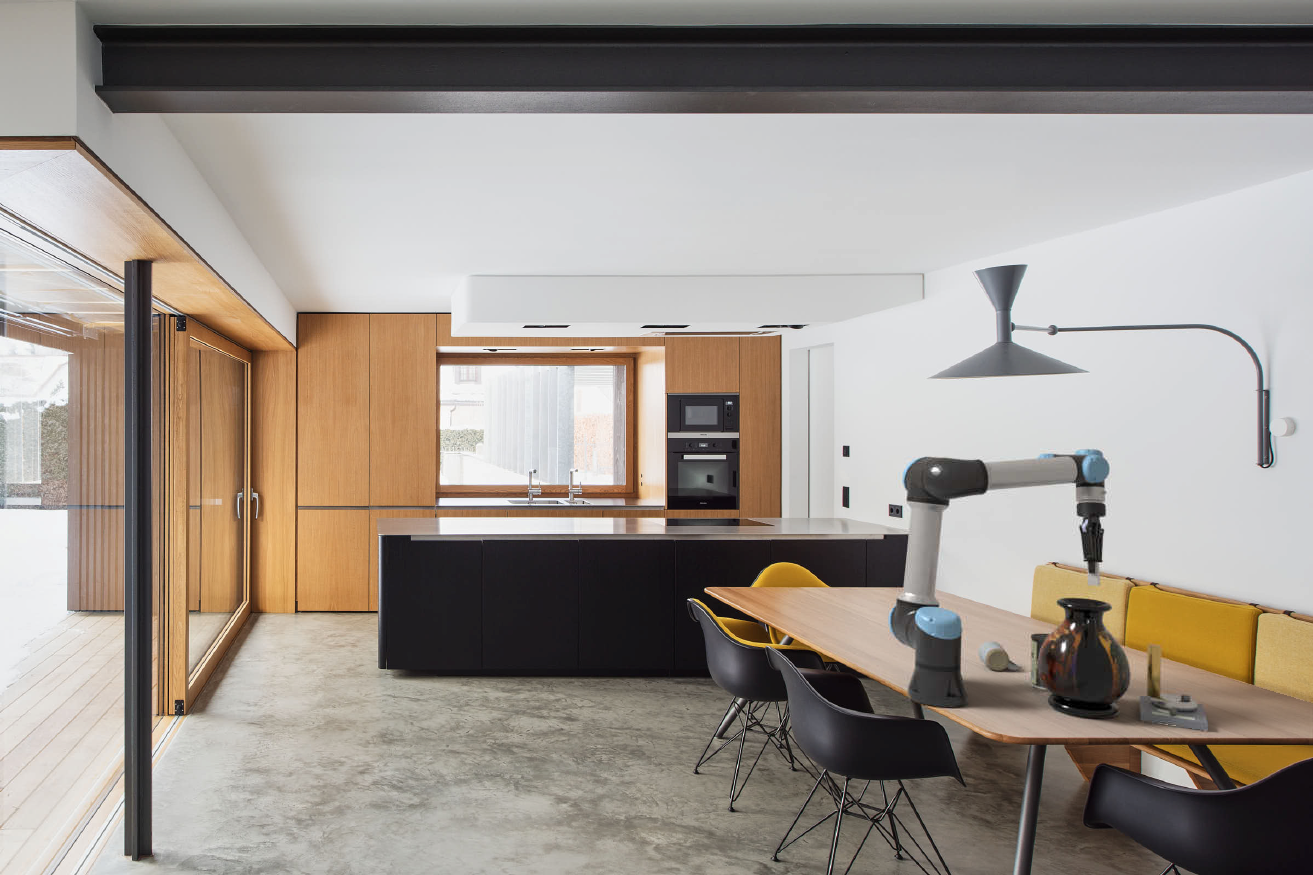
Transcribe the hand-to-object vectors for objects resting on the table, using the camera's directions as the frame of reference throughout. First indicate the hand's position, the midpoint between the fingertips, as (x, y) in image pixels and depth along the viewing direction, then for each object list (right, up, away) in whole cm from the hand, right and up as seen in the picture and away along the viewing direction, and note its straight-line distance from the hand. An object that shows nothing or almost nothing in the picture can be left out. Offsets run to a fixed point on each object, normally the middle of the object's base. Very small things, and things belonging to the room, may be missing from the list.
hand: (1093, 585), depth 236 cm
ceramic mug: (-20, -29, +19) cm, 40 cm away
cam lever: (+8, -27, -23) cm, 36 cm away
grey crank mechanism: (+6, -29, -25) cm, 39 cm away
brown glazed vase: (-14, -29, -21) cm, 39 cm away
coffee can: (-13, -29, -1) cm, 32 cm away
